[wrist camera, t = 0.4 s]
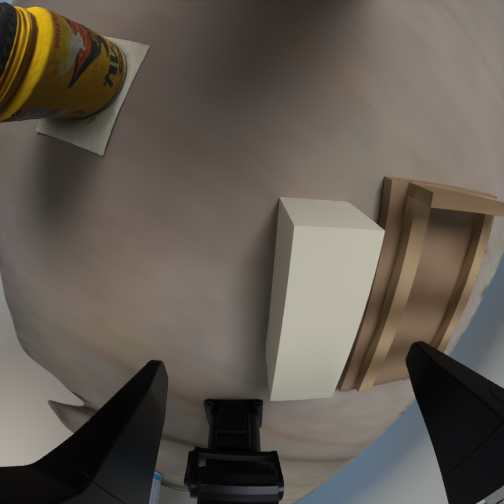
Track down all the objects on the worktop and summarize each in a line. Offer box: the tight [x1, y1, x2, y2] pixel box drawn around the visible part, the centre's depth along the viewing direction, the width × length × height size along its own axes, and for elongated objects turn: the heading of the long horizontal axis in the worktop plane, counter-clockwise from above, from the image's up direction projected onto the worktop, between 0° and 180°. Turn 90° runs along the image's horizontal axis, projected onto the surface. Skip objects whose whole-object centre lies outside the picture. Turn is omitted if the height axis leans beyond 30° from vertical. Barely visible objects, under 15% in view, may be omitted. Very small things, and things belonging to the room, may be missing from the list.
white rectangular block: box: [265, 197, 385, 401], centre depth 19 cm, size 14×5×6 cm, turn 177°
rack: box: [338, 177, 504, 392], centre depth 21 cm, size 22×13×4 cm, turn 0°
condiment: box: [0, 2, 150, 156], centre depth 9 cm, size 7×8×12 cm
